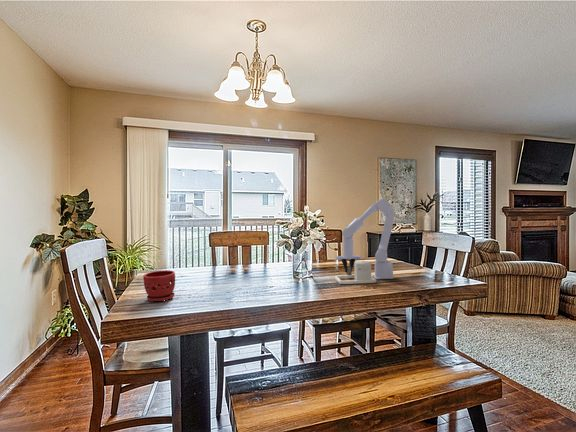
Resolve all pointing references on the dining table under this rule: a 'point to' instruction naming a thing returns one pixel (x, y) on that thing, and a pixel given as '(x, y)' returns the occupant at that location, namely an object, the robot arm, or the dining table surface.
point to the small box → (362, 270)
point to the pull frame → (351, 277)
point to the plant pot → (159, 285)
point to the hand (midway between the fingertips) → (348, 272)
